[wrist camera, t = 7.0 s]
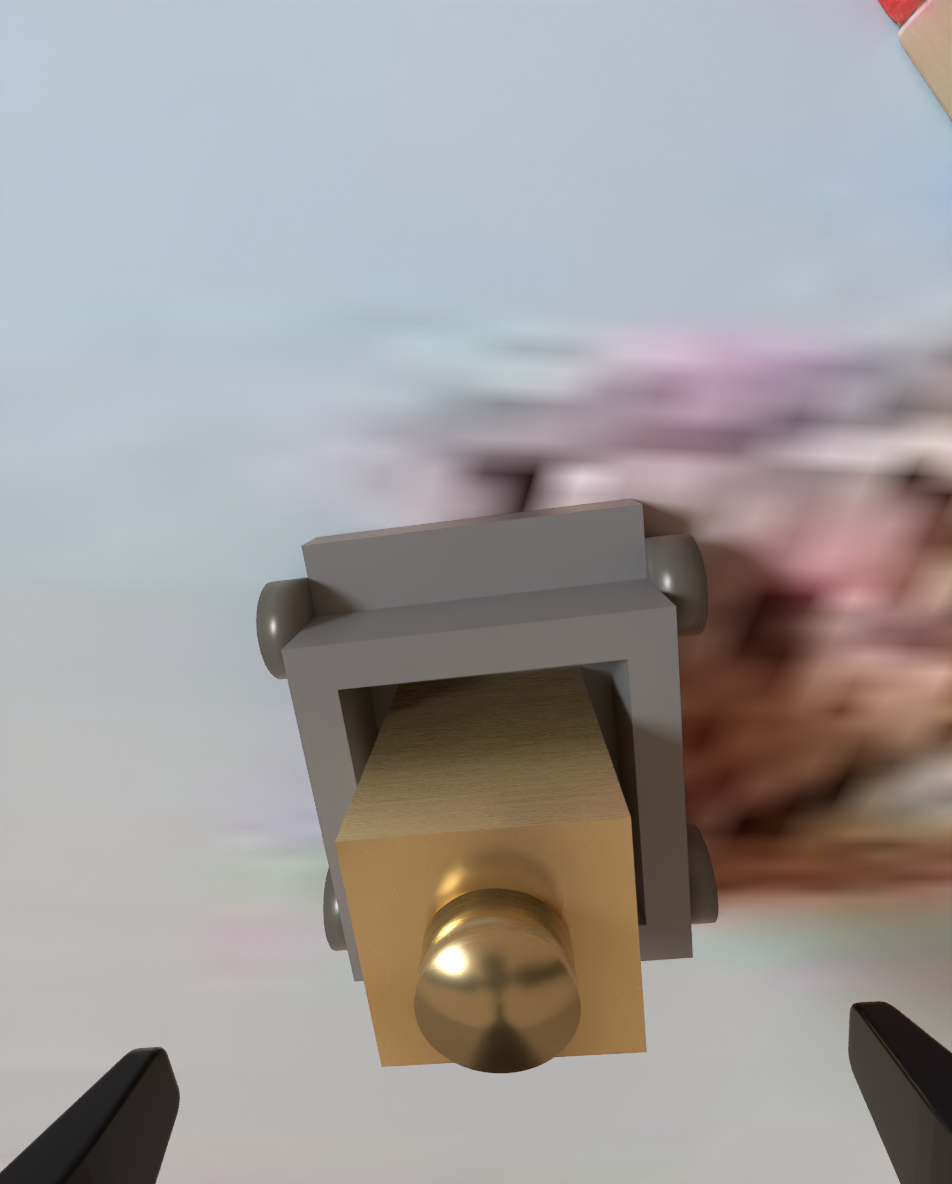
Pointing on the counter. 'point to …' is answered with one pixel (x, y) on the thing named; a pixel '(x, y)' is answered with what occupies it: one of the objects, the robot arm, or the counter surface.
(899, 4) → the stack of blocks
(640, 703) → the chassis
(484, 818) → the brass knobbed block
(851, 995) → the counter surface
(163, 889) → the counter surface
